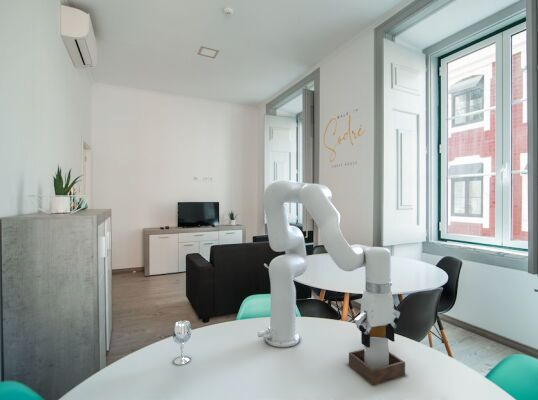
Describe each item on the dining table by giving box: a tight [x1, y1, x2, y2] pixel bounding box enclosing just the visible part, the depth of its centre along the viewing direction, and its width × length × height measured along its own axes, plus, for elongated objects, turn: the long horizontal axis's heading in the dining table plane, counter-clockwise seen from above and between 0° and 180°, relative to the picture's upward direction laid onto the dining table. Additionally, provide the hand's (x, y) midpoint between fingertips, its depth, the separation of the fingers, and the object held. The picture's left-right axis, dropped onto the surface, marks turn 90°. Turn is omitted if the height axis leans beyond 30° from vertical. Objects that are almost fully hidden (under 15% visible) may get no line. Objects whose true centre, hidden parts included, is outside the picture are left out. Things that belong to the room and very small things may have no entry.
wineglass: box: [172, 320, 193, 366], centre depth 95 cm, size 6×6×12 cm
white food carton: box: [363, 337, 390, 370], centre depth 92 cm, size 4×7×10 cm, turn 83°
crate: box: [348, 348, 406, 386], centre depth 92 cm, size 12×11×4 cm
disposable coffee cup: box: [365, 322, 387, 338], centre depth 106 cm, size 10×10×12 cm
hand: (378, 342), depth 92 cm, fingers open, 9 cm apart
